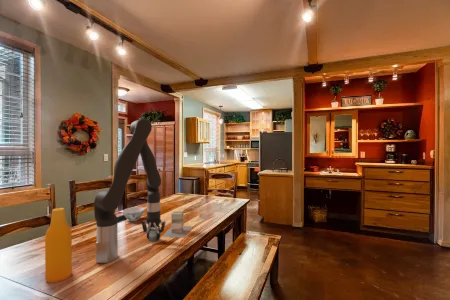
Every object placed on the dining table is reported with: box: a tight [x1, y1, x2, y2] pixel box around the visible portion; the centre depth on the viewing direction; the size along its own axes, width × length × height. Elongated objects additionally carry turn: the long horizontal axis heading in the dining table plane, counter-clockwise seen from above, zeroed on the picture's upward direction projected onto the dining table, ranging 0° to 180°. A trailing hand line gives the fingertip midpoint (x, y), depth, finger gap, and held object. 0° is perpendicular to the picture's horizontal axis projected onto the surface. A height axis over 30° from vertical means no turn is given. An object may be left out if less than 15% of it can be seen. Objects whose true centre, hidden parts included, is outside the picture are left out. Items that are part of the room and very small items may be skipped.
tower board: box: [161, 225, 193, 239], centre depth 146 cm, size 19×14×2 cm
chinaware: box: [122, 206, 145, 222], centre depth 173 cm, size 15×15×8 cm
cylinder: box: [148, 227, 158, 243], centre depth 133 cm, size 5×5×6 cm
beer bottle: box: [44, 207, 73, 284], centre depth 97 cm, size 9×9×29 cm
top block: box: [171, 210, 185, 224], centre depth 146 cm, size 6×6×6 cm
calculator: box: [114, 211, 127, 222], centre depth 175 cm, size 11×4×15 cm
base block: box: [171, 220, 185, 233], centre depth 146 cm, size 6×6×6 cm
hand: (153, 238), depth 133 cm, fingers closed on cylinder, 5 cm apart
